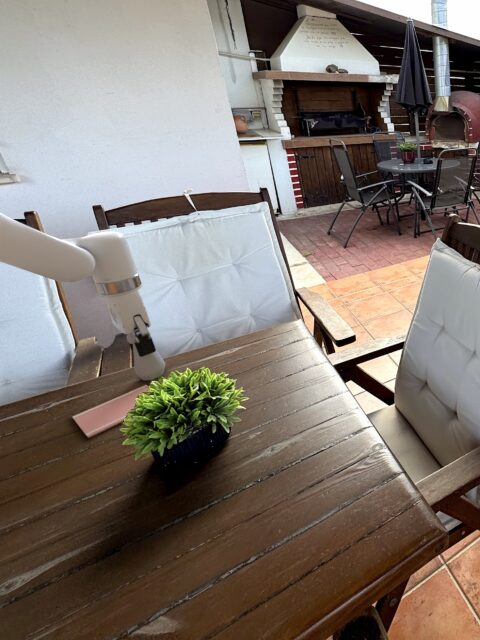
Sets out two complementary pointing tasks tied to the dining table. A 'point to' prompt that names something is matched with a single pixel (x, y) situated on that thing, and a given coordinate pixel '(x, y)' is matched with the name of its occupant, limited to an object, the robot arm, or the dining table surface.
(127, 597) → the dining table surface
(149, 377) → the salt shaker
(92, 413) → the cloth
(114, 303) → the robot arm
